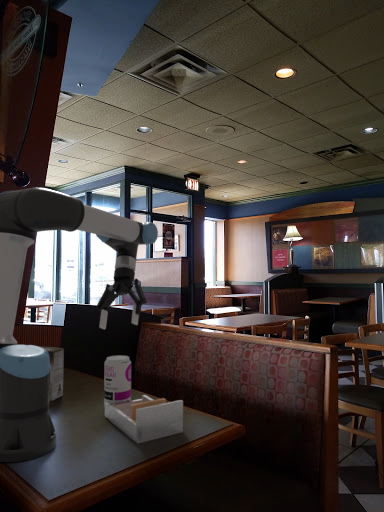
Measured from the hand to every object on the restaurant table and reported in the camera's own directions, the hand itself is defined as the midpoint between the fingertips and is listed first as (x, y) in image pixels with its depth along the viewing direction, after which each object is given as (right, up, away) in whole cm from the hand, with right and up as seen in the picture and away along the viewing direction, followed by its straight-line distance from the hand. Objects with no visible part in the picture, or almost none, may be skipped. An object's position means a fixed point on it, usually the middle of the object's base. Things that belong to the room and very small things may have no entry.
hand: (118, 326), depth 137 cm
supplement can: (+2, -23, -13) cm, 27 cm away
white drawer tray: (+12, -22, -28) cm, 37 cm away
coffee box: (-23, -23, -4) cm, 33 cm away
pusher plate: (+14, -21, -31) cm, 40 cm away
